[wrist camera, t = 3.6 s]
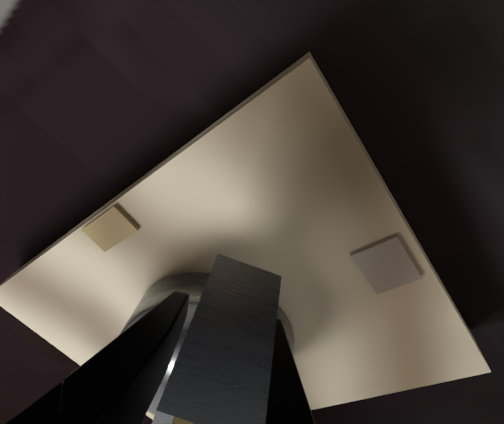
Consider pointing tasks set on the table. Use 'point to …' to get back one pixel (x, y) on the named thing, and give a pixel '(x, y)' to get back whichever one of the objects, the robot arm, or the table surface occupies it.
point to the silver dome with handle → (219, 345)
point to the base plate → (265, 249)
